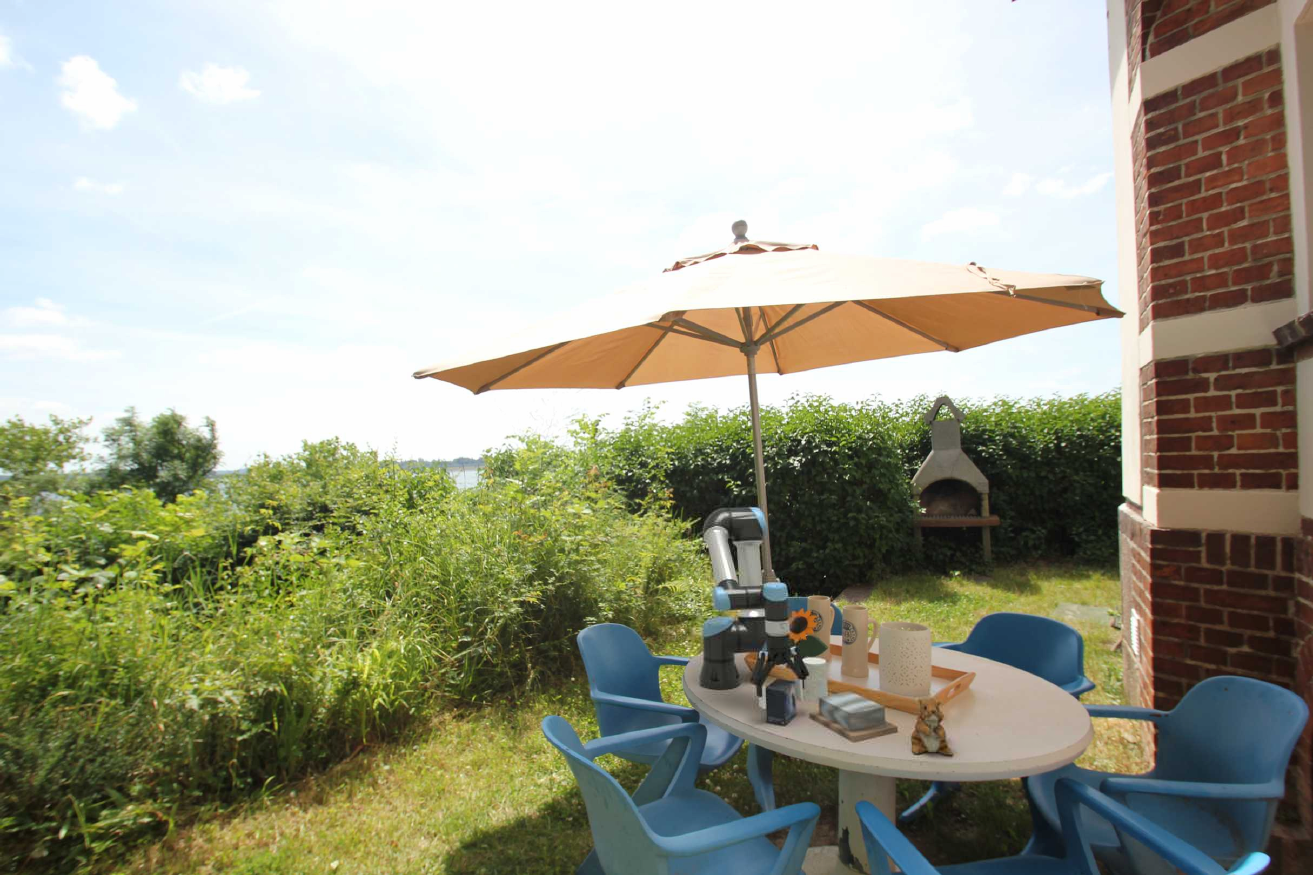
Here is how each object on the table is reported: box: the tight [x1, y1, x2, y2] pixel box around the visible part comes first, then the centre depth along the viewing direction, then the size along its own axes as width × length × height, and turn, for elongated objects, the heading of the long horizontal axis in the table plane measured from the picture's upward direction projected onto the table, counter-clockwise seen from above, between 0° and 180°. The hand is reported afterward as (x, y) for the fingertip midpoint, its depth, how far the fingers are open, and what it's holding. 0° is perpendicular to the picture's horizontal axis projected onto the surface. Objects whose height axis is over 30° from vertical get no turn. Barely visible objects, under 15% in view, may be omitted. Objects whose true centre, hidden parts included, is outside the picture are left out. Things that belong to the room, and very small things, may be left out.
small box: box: [765, 678, 797, 727], centre depth 179 cm, size 11×6×10 cm, turn 148°
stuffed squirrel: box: [910, 697, 954, 757], centre depth 157 cm, size 10×14×13 cm
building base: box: [808, 690, 899, 743], centre depth 173 cm, size 20×16×6 cm
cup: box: [802, 657, 829, 702], centre depth 197 cm, size 8×8×12 cm
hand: (781, 703), depth 179 cm, fingers open, 13 cm apart
